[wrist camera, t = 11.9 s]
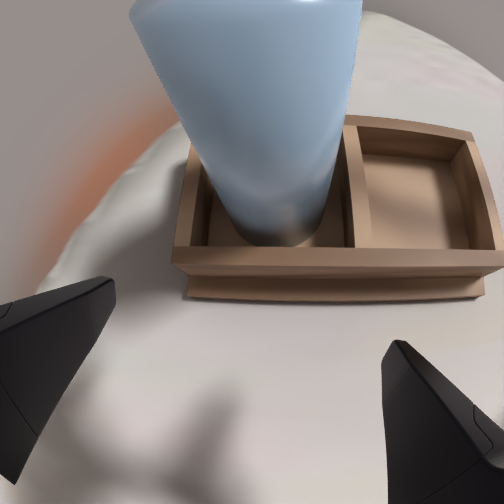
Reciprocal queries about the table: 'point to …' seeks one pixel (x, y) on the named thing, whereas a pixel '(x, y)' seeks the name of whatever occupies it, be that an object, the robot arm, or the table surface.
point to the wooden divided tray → (359, 225)
